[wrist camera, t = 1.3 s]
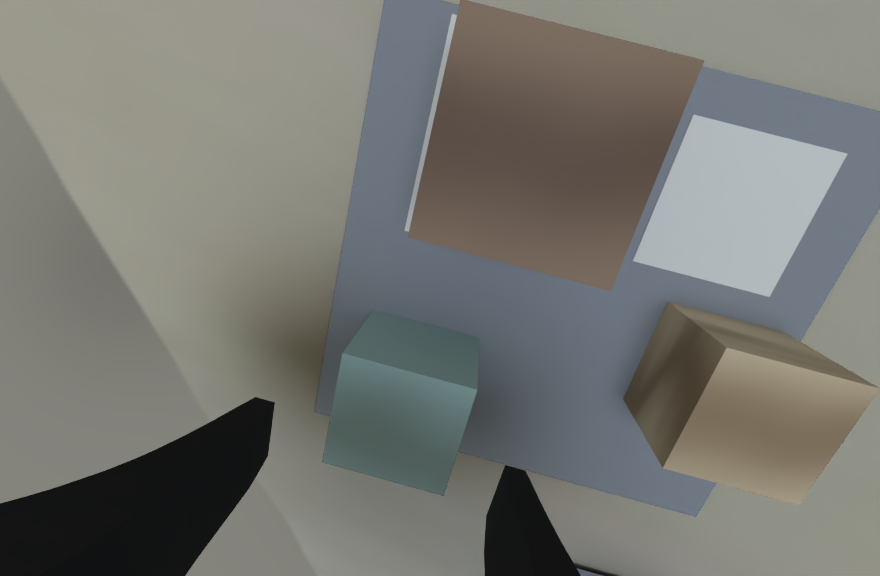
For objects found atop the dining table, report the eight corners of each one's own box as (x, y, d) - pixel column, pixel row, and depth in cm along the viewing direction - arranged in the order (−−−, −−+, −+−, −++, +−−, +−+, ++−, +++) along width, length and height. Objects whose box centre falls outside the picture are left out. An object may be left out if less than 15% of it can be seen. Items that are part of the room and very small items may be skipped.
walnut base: (579, 258, 15) (610, 291, 12) (426, 217, 16) (407, 237, 12) (642, 87, 14) (704, 60, 10) (466, 42, 14) (460, -2, 10)
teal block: (451, 425, 18) (443, 495, 15) (355, 399, 18) (321, 462, 15) (478, 337, 17) (477, 389, 13) (374, 309, 17) (342, 353, 13)
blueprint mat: (691, 509, 19) (696, 517, 18) (317, 406, 19) (313, 412, 19) (917, 124, 13) (930, 123, 13) (389, -9, 14) (386, -14, 13)
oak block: (728, 427, 17) (798, 505, 13) (622, 399, 17) (662, 467, 13) (783, 331, 16) (880, 388, 12) (668, 301, 16) (726, 347, 12)
